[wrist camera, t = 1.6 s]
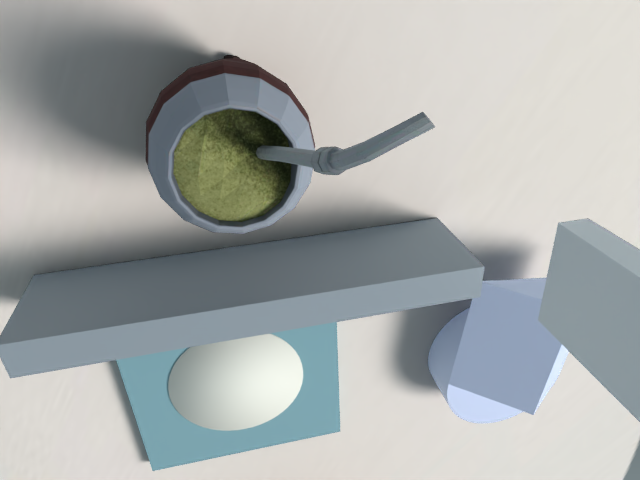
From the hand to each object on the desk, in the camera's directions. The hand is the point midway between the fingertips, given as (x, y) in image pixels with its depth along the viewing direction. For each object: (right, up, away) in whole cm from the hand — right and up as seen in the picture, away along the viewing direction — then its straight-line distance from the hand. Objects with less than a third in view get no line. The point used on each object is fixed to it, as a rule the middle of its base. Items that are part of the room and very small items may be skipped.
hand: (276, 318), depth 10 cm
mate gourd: (-4, +8, +15) cm, 18 cm away
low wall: (-3, +1, +19) cm, 19 cm away
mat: (-5, -8, +23) cm, 25 cm away
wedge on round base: (+14, -5, +26) cm, 30 cm away
